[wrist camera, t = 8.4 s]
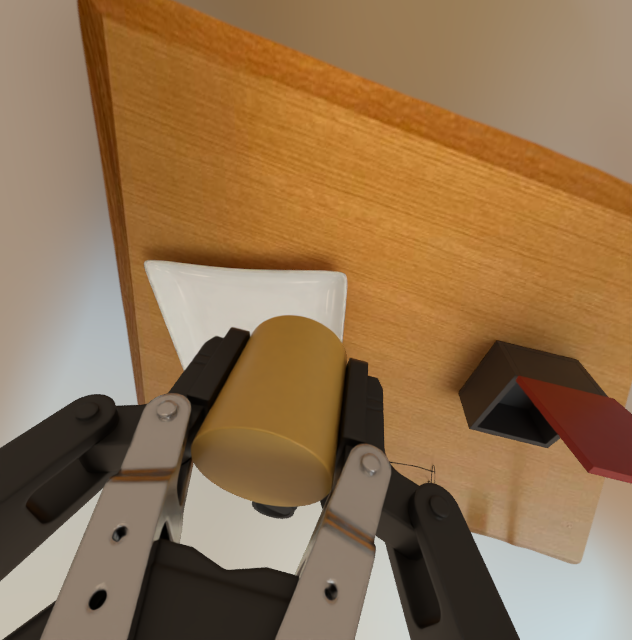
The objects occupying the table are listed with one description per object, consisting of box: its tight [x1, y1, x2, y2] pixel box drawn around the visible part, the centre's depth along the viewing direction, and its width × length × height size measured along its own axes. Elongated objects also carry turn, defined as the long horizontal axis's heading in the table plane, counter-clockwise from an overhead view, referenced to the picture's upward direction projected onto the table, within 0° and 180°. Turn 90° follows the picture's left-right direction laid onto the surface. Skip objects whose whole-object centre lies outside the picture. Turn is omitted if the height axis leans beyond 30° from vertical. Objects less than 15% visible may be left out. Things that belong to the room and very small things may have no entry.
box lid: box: [516, 376, 632, 483], centre depth 30 cm, size 13×12×1 cm
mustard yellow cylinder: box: [191, 315, 347, 507], centre depth 10 cm, size 4×4×5 cm
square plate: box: [144, 260, 347, 371], centre depth 46 cm, size 27×27×4 cm
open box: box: [459, 341, 608, 448], centre depth 42 cm, size 12×12×7 cm
